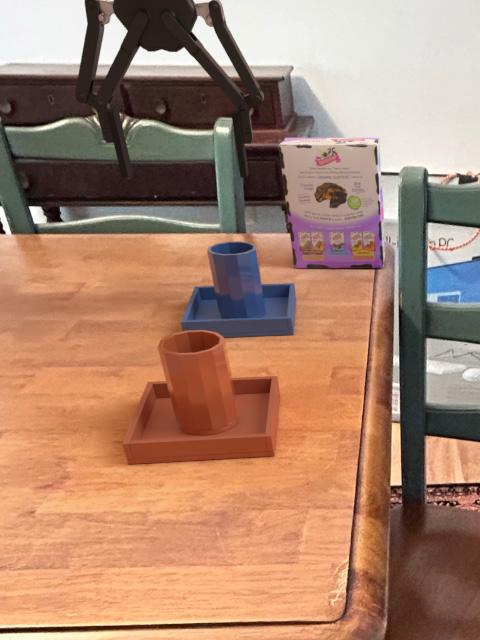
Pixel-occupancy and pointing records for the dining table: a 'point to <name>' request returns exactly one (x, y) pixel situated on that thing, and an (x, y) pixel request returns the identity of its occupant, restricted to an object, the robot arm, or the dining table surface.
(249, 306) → the blue cup
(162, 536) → the dining table surface
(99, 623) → the dining table surface
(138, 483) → the dining table surface
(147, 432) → the terracotta tray
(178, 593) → the dining table surface
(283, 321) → the blue tray
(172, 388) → the terracotta cup
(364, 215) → the candy box
